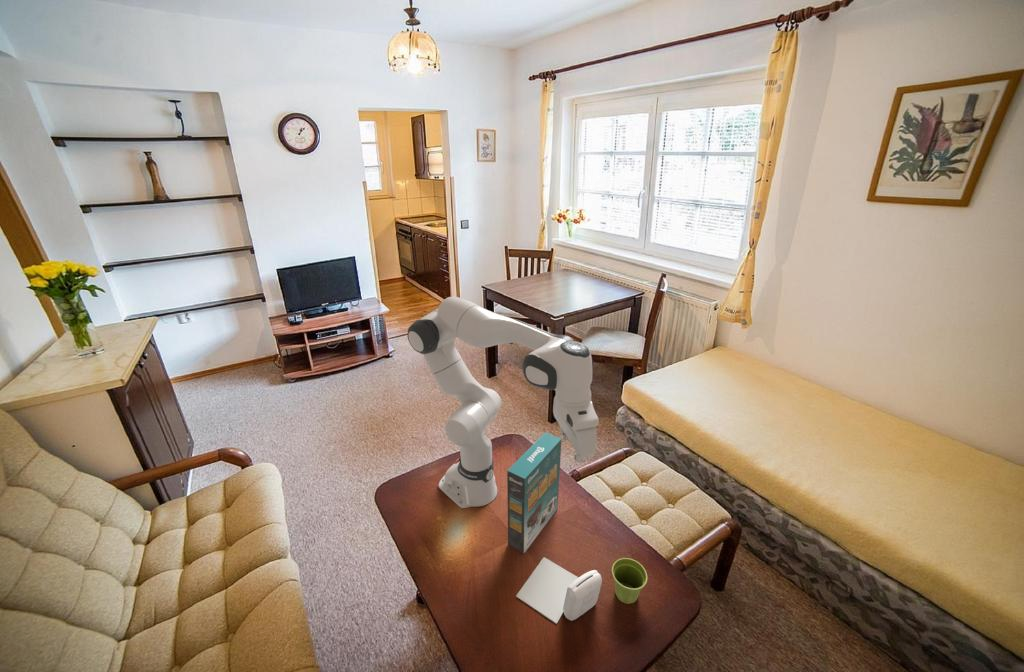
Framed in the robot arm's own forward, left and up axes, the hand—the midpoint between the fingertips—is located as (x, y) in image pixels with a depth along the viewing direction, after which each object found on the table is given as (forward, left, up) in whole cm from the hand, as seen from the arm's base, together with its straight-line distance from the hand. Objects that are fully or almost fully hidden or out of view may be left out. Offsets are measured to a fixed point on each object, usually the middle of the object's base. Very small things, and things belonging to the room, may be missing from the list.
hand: (571, 449), depth 110 cm
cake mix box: (-15, +6, -43) cm, 45 cm away
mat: (+1, -10, -42) cm, 44 cm away
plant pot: (+19, +1, -43) cm, 47 cm away
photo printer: (+10, -10, -42) cm, 45 cm away
